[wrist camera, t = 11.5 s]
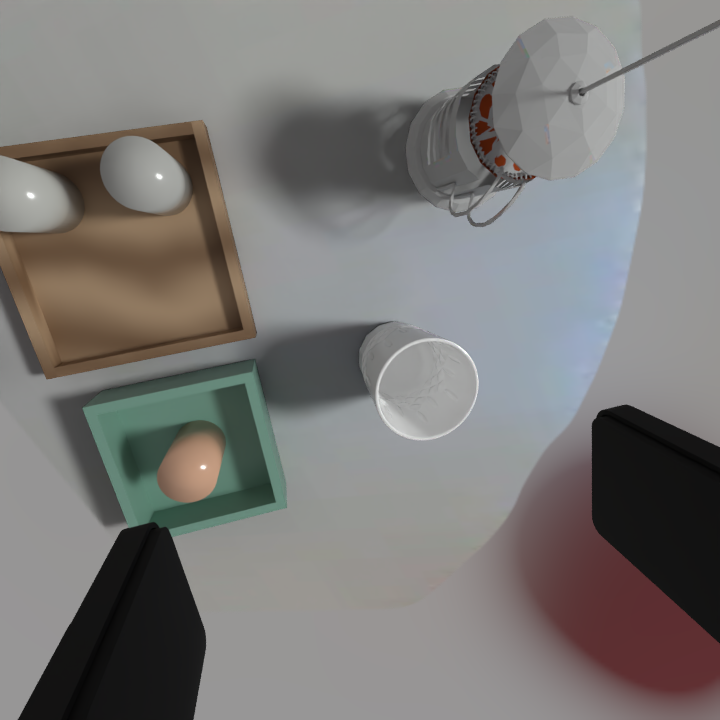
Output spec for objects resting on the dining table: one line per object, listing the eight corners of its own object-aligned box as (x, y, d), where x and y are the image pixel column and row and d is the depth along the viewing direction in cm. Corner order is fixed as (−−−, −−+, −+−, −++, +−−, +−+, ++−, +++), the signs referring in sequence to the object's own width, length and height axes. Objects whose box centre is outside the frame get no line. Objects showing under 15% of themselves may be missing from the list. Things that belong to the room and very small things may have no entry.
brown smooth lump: (168, 426, 38) (149, 459, 32) (219, 415, 38) (208, 445, 33) (182, 469, 39) (166, 508, 33) (231, 458, 40) (223, 494, 34)
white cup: (361, 404, 41) (386, 452, 32) (343, 326, 39) (365, 353, 29) (438, 383, 42) (484, 424, 33) (425, 306, 40) (471, 326, 30)
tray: (-26, 158, 31) (-46, 153, 29) (206, 127, 33) (202, 120, 31) (59, 372, 35) (46, 379, 34) (256, 332, 38) (255, 337, 36)
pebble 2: (123, 158, 32) (89, 141, 26) (184, 150, 32) (163, 131, 27) (141, 220, 33) (113, 216, 27) (199, 211, 34) (183, 205, 28)
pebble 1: (7, 175, 31) (-54, 160, 25) (72, 166, 31) (26, 149, 26) (31, 238, 32) (-22, 237, 26) (93, 228, 33) (53, 225, 27)
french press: (532, 123, 37) (980, -86, 13) (473, 249, 39) (772, 260, 15) (436, 62, 34) (784, -330, 11) (377, 201, 36) (563, 126, 13)
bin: (102, 390, 36) (82, 407, 33) (254, 358, 38) (252, 371, 34) (149, 517, 40) (136, 546, 36) (286, 483, 42) (286, 507, 38)
